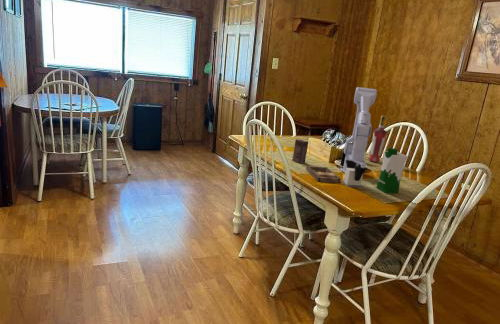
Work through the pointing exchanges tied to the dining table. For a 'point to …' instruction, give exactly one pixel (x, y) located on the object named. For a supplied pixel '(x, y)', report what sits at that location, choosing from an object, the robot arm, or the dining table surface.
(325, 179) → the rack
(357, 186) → the mat
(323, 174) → the tan rectangular block
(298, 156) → the box
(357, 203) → the dining table surface
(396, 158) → the milk carton
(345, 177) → the cream rectangular prism
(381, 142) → the liquor
